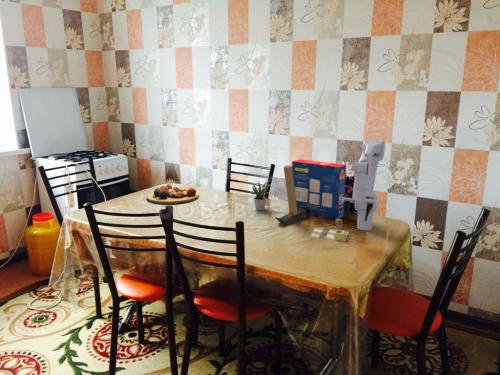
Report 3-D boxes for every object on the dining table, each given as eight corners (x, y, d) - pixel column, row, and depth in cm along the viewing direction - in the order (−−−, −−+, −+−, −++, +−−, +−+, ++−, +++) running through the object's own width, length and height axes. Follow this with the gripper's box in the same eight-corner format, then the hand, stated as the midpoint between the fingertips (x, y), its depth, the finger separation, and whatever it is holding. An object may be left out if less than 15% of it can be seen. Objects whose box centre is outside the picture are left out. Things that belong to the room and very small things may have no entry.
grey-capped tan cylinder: (335, 230, 205) (336, 218, 204) (342, 231, 204) (342, 219, 203) (334, 232, 203) (335, 220, 201) (341, 233, 202) (341, 221, 200)
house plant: (275, 205, 251) (275, 177, 247) (274, 212, 237) (274, 183, 233) (251, 204, 252) (250, 177, 248) (248, 211, 239) (248, 183, 235)
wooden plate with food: (209, 195, 274) (209, 183, 272) (175, 207, 248) (174, 193, 246) (171, 190, 290) (171, 178, 289) (136, 200, 264) (135, 187, 262)
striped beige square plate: (315, 228, 210) (315, 227, 210) (349, 232, 205) (349, 230, 205) (309, 238, 197) (309, 236, 197) (345, 242, 192) (345, 241, 192)
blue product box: (343, 216, 230) (346, 164, 224) (337, 219, 224) (339, 167, 217) (298, 207, 247) (299, 159, 240) (291, 210, 241) (292, 161, 234)
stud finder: (335, 235, 199) (336, 229, 198) (344, 236, 197) (344, 230, 197) (334, 239, 194) (334, 232, 193) (343, 240, 193) (343, 233, 192)
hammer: (283, 229, 216) (275, 173, 205) (276, 227, 220) (268, 172, 209) (310, 215, 227) (304, 161, 216) (303, 213, 231) (297, 159, 220)
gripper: (342, 187, 189) (339, 217, 189) (376, 190, 184) (373, 222, 184) (344, 187, 195) (340, 217, 195) (377, 191, 190) (374, 221, 191)
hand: (356, 219), depth 190 cm, fingers open, 7 cm apart
